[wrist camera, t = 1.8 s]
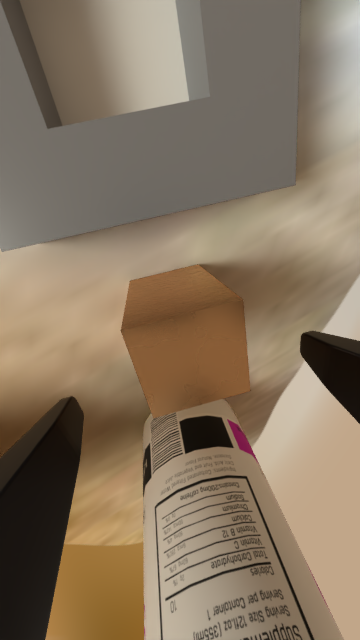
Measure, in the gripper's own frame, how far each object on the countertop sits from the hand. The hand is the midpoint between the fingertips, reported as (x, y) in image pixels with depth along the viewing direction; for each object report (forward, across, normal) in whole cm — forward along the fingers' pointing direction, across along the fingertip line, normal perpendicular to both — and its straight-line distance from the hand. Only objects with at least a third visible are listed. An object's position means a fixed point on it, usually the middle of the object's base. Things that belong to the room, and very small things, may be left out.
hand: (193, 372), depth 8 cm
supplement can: (+8, +1, +12) cm, 14 cm away
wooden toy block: (+7, 0, 0) cm, 7 cm away
